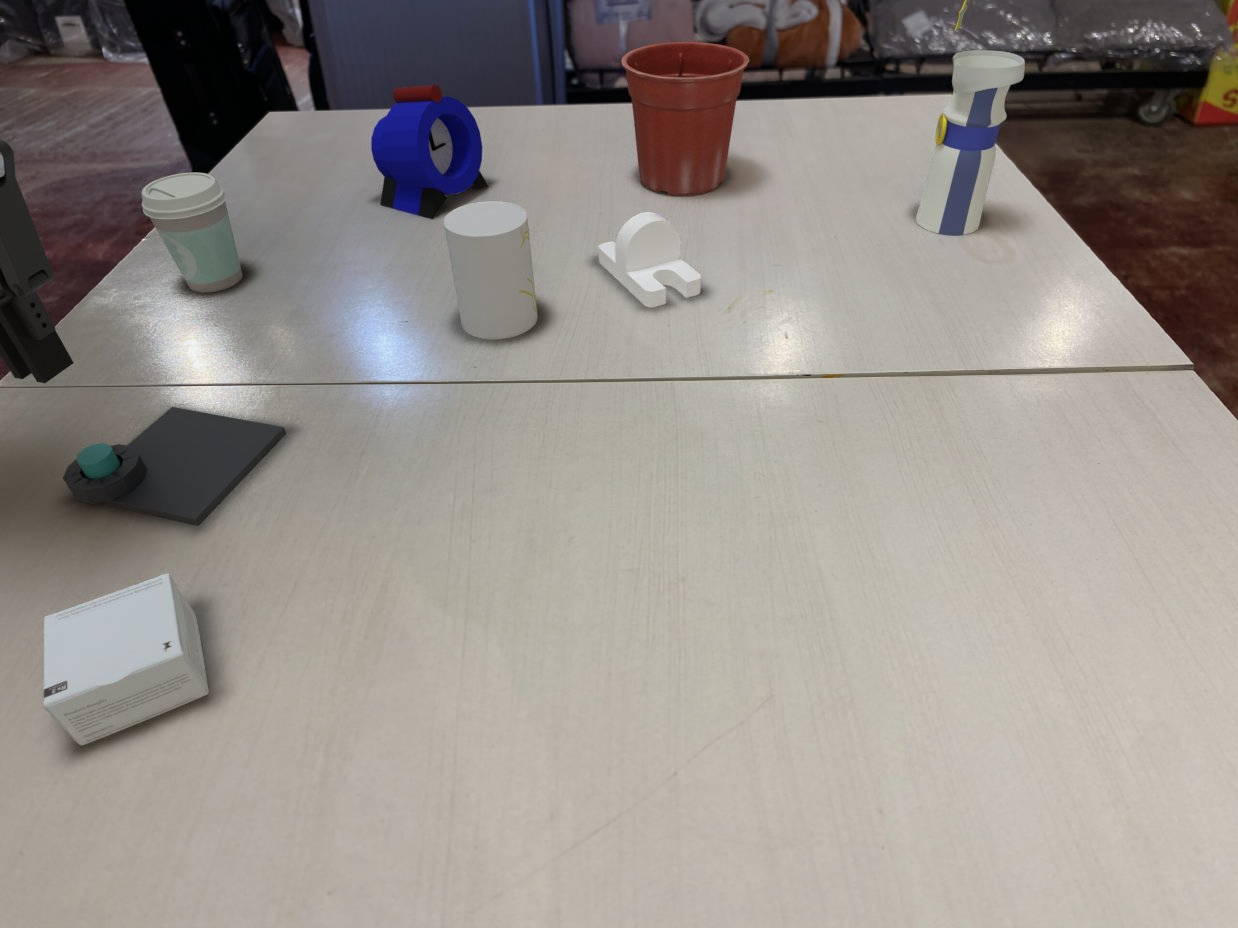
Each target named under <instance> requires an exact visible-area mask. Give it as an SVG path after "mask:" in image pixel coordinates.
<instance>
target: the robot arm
mask: <svg viewBox="0 0 1238 928" xmlns="http://www.w3.org/2000/svg"><path fill="white" fill-rule="evenodd" d="M29 210H30V209H29V208H28V206H27V203H26V200H25V198H24V195H23V193H22V189H21V187H20V185H19V182H18V180H17V176H16V162H15V153H14V150H13V149H12V147H11V145H10V144H9V143H7V141H5V140H3V139H0V357H1V359H2V360H3V362H4V364H5V365H6V366H7V369H8V370H9V371H10V373H11V375H12V376H13V377H14V379H19V380H24V379H25V378H27V377H29V376H30V375H32V376H33V378H34V379H35V381H36V383H39V384H47V383H48V382H49V381H51V380H52V379H54V378H55V377H56V376H58V375H59V374H60V373H62V372H63V371H66V370H67V369H68V368H70V367H71V366H72V365H74V363H75V362H74V360H73V359H72V357H71V355H70V353H69V352H68V350H67V348H66V346H65V344H64V343H63V341H62V339H61V338H60V336H59V334H58V332H57V330H56V325H55V323H54V321H53V319H52V317H51V316H50V313H49V312H48V310H47V308H46V306H45V305H44V303H43V301H42V300H41V298H40V296H39V293H38V290H39V289H41V288H42V287H43V286H45V285H47V284H48V283H50V282H52V281H54V280H55V274H54V272H53V269H52V267H51V264H50V262H49V259H48V256H47V255H46V254H47V253H46V252H45V248H44V246H43V243H42V241H41V238H40V236H39V234H38V231H37V229H36V228H37V227H36V226H35V223H34V221H33V218H32V215H31V213H30V211H29Z"/></svg>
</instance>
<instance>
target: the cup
mask: <svg viewBox="0 0 1238 928" xmlns="http://www.w3.org/2000/svg"><path fill="white" fill-rule="evenodd" d="M443 226H444V232H445V233H444V234H445V238H446V244H447V250H448V256H449V260H450V261H449V262H450V266H451V272H452V278H453V284H454V288H455V295H456V300H457V301H456V302H457V307H458V311H459V317H460V318H459V319H460V323H461V327H462V329H463V330H464V331H465V332H466V333H467V334H468V335H470V336H473V337H475V338H479V339H483V340H506V339H510V338H514V337H518V336H520V335H522V334H525V333H527V331H530V330H531V329H532V328H533V327H534V326H535V325H536V324H537V321H538V319H539V318H538V317H539V316H538V315H539V314H538V306H537V305H538V304H537V297H536V287H535V286H536V285H535V276H534V268H533V267H534V266H533V259H532V249H531V238H530V229H529V219H528V213H527V211H526V209H525V208H523V207H522V206H520V205H518V204H516V203H513V202H508V201H501V200H485V201H483V200H482V201H477V202H472V203H467V204H464V205H460V206H459V207H457V208H454V209H453V210H451V211H450V212H448V213H447V214H446V215H445V216H444V218H443Z"/></svg>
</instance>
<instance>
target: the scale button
mask: <svg viewBox="0 0 1238 928" xmlns="http://www.w3.org/2000/svg"><path fill="white" fill-rule="evenodd" d="M110 445H111V444H108V443H103V442H101V443H94V444H91V445H88V446H86V447H85V448H83V449H81V450H80V451H79V452H78V453H77V455H76V459H75V460H77V462H78V464H79V465H80V467H81V469H82V470H83V472H84V473H85V475H86V476H87V477H88V478H90V479H97V478H103V477H105V476H107V475H109V474H112V473H114V472H115V471H116V470H117V469H118V468H119V467H120V461H119V460H118V458H117V456H116V454H115V453H114V451H113V449H112V447H111V446H110Z"/></svg>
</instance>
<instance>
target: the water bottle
mask: <svg viewBox="0 0 1238 928" xmlns="http://www.w3.org/2000/svg"><path fill="white" fill-rule="evenodd" d="M967 2H968V0H964V1H963V4H962V7H961V9H960V10H959V11H958V19H957V22H956V25H955V28H954V32H957V30H958V28H961V26H962V23H963V18H964V15H965V13H966V11H967V10H968V9H967V8H968V5H967ZM952 65H953V71H952V79H951V83H952V89H953V92H952V96H951V97H950V100H949V103H948V104H947V105H946V106H945V107H944V109H943V110H942V113H941V114H940V115H939V117H938V120H937V125H936V130H935V144H936V145H935V147H934V149H933V153H932V156H931V160H930V164H929V169H928V172H927V175H926V176H927V177H926V180H925V185H924V188H923V192H922V196H921V199H920V203H919V205H918V210H917V213H916V216H915V222H916V223H917V225H918V226H920V227H921V228H922V229H924V230H926V231H929V232H931V233H934V234H940V235H945V236H964V235H968V234H972V233H974V232H976V231H977V230H978V229H979V228H980V224H981V220H982V214H983V209H984V205H985V200H986V196H987V192H988V188H989V184H990V181H991V177H992V173H993V169H994V166H995V162H996V156H997V148H996V142H997V138H998V135H999V131H1000V127H1001V124H1002V123H1003V122H1004V121H1006V119H1007V117H1008V116H1007V112H1006V109H1005V101H1006V97H1007V95H1008V91H1009V90H1010V87H1011V85H1015V84H1018V83H1020V82H1022V81H1023V79H1024V77H1025V69H1026V68H1025V66H1026V61H1025V59H1024V58H1023V57H1022V56H1020V55H1018V54H1016V53H1012V52H1009V51H1008V52H1007V51H1002V50H983V49H979V50H977V49H975V50H965V51H960V52H957V53H955V54H954V55H952Z"/></svg>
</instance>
